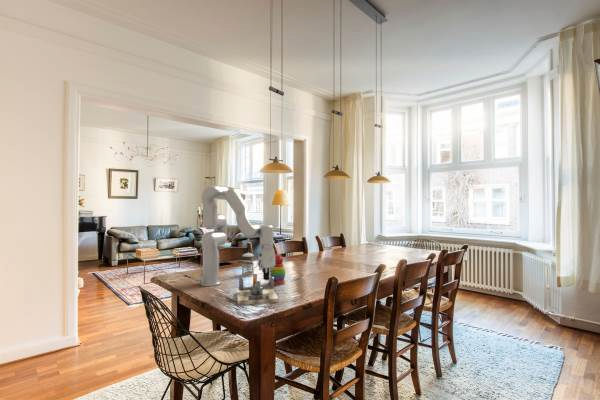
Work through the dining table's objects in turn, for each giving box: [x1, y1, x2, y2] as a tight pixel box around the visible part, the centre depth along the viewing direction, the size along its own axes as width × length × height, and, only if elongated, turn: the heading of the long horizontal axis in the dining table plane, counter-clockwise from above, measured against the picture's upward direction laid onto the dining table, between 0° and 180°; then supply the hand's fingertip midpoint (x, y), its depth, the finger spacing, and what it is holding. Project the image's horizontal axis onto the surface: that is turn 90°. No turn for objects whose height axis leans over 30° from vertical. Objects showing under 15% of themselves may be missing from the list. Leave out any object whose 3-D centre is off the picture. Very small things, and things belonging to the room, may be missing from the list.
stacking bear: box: [267, 253, 286, 286], centre depth 199 cm, size 11×10×18 cm
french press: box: [240, 238, 258, 278], centre depth 218 cm, size 10×12×25 cm
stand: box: [235, 289, 280, 306], centre depth 167 cm, size 20×21×4 cm
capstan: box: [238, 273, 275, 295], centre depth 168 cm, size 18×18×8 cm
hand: (266, 279), depth 180 cm, fingers closed
